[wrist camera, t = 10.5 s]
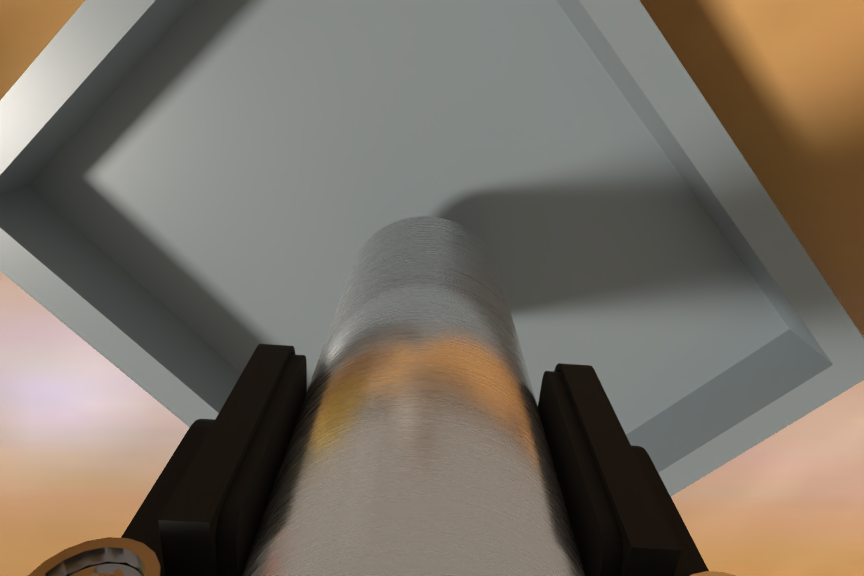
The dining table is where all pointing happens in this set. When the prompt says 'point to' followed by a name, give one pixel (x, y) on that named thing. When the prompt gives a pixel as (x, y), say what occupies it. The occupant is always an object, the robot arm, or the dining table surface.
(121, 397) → the dining table surface
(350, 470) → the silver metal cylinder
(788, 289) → the tray
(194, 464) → the robot arm
